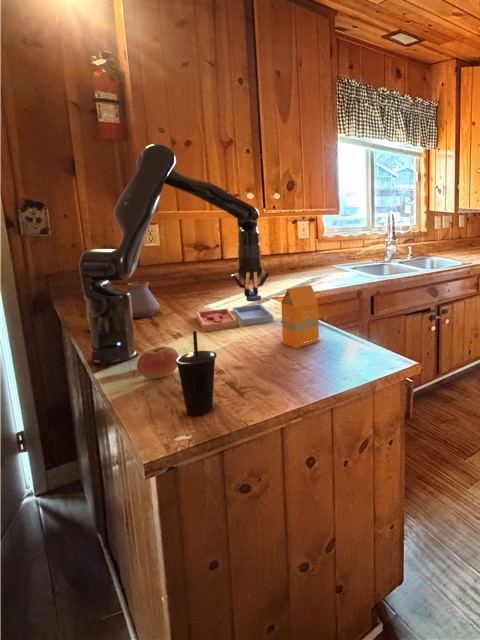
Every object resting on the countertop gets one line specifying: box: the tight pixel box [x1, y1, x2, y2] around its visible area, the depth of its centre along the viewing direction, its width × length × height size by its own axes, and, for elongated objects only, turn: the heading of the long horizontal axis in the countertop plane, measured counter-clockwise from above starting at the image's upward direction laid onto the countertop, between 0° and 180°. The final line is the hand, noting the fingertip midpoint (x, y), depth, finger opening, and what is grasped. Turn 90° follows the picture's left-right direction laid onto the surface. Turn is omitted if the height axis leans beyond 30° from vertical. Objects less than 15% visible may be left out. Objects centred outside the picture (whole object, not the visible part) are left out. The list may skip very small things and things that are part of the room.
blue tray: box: [232, 303, 274, 327], centre depth 166 cm, size 19×10×2 cm, turn 43°
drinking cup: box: [175, 330, 218, 417], centre depth 96 cm, size 8×8×20 cm
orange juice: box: [280, 284, 320, 349], centre depth 141 cm, size 8×9×20 cm
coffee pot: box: [80, 281, 160, 318], centre depth 157 cm, size 21×12×15 cm, turn 133°
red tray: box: [196, 307, 238, 333], centre depth 157 cm, size 19×10×2 cm, turn 43°
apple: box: [136, 345, 180, 380], centre depth 113 cm, size 9×9×8 cm
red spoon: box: [206, 313, 222, 323], centre depth 158 cm, size 14×5×2 cm, turn 44°
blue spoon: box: [245, 289, 262, 302], centre depth 164 cm, size 14×5×2 cm, turn 44°
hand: (251, 296), depth 165 cm, fingers closed on blue spoon, 2 cm apart
